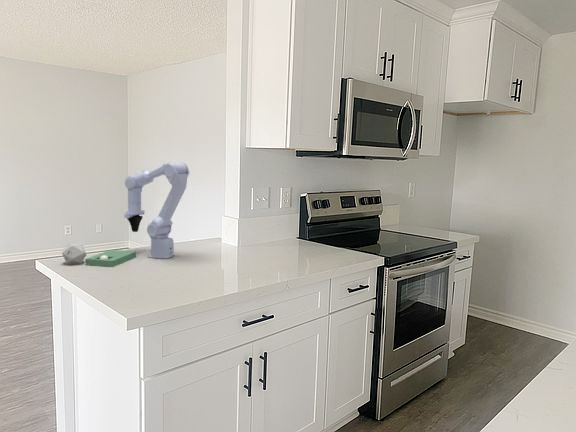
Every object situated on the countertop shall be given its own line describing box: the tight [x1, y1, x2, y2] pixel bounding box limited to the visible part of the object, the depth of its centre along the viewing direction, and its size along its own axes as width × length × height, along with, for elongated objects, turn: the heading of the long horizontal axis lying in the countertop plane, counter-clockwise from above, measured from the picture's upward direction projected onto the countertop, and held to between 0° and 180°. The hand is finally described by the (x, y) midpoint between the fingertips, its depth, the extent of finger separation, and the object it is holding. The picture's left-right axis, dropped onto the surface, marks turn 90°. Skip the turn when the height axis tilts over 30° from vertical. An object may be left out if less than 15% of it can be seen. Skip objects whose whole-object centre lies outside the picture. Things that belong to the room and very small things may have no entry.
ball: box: [100, 255, 108, 260], centre depth 189 cm, size 4×4×4 cm
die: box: [61, 243, 87, 265], centre depth 189 cm, size 8×9×10 cm
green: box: [84, 249, 137, 268], centre depth 195 cm, size 12×19×2 cm, turn 169°
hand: (135, 231), depth 211 cm, fingers closed
